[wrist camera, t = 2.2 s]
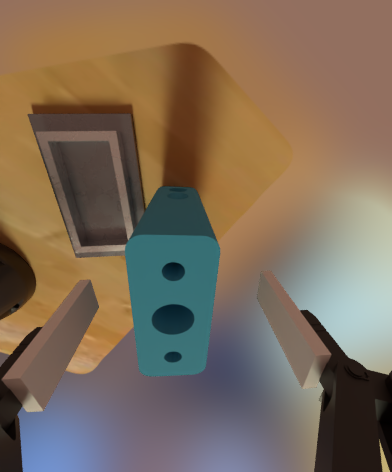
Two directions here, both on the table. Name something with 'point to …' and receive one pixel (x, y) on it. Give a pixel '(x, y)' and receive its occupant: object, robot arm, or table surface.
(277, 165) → the table surface
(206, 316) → the block
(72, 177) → the grey rectangular tray
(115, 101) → the table surface
